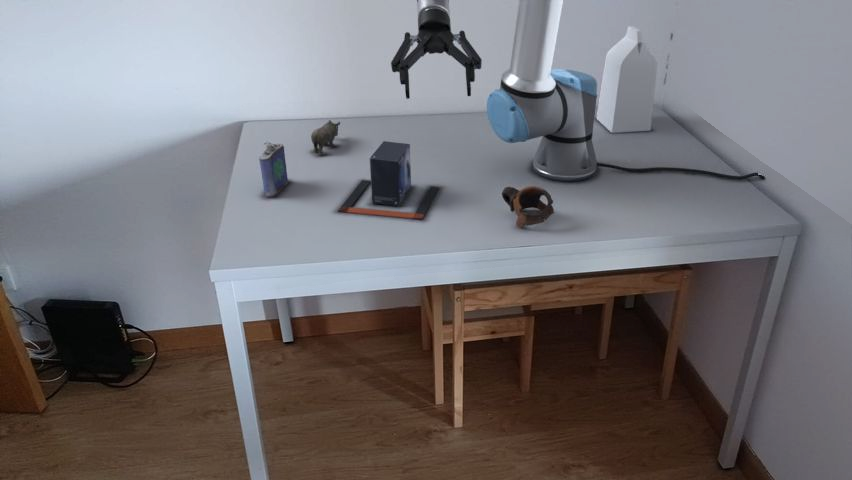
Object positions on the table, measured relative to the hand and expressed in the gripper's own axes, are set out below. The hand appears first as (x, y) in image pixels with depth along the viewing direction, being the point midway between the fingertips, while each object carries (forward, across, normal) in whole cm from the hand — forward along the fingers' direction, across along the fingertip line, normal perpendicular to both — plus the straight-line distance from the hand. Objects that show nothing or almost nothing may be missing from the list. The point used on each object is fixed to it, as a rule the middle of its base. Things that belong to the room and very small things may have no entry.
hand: (438, 93), depth 153 cm
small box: (+21, +11, -8) cm, 25 cm away
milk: (-15, -52, -36) cm, 65 cm away
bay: (+22, +12, -7) cm, 26 cm away
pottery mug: (+31, -17, -2) cm, 35 cm away
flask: (+16, +37, -10) cm, 42 cm away
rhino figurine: (-4, +28, -25) cm, 38 cm away
